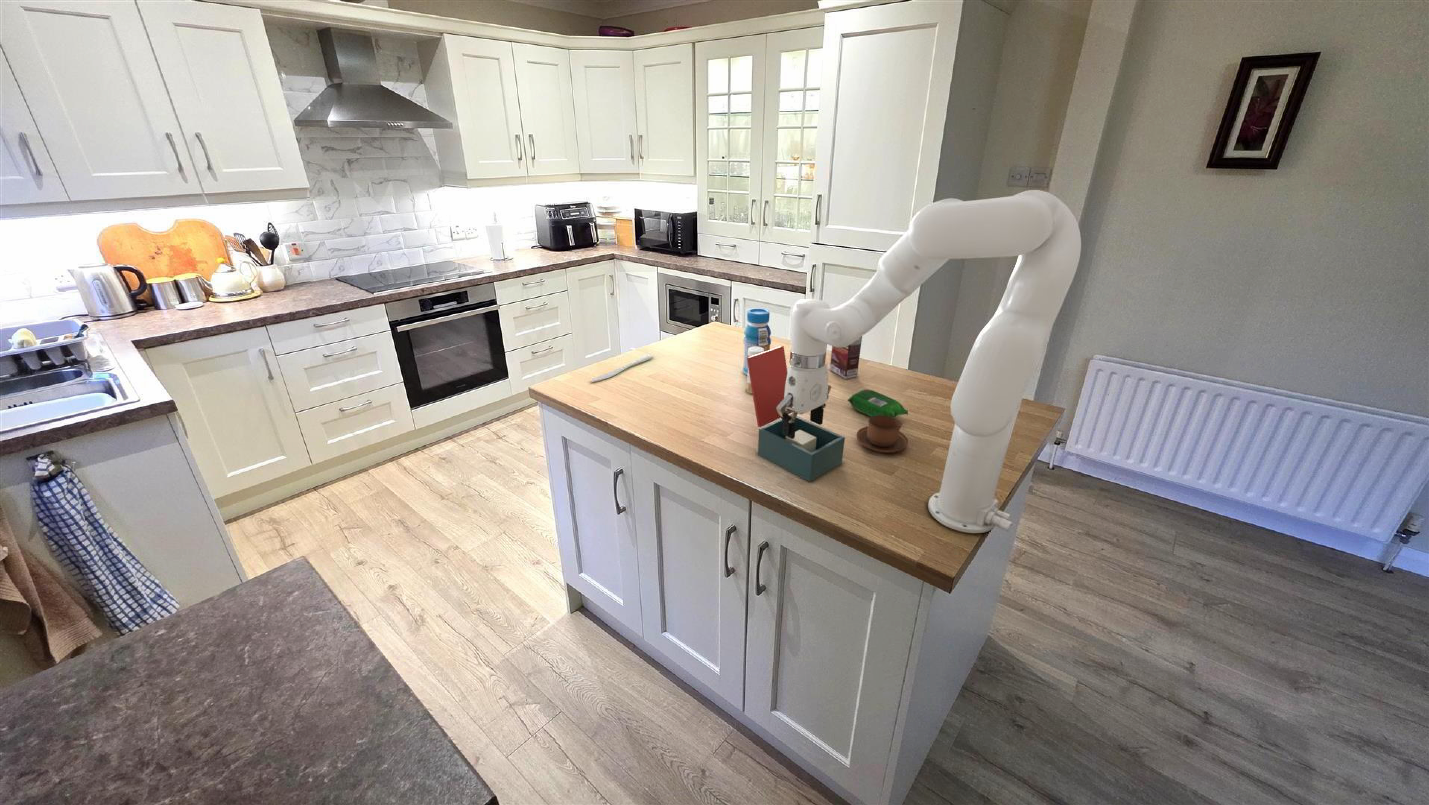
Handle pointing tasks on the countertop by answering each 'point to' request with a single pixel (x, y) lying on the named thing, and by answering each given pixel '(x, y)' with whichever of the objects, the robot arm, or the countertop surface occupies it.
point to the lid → (767, 383)
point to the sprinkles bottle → (751, 352)
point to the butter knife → (622, 369)
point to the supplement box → (846, 359)
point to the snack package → (876, 404)
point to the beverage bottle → (756, 332)
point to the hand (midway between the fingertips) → (802, 429)
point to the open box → (801, 449)
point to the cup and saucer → (882, 434)
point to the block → (804, 440)
